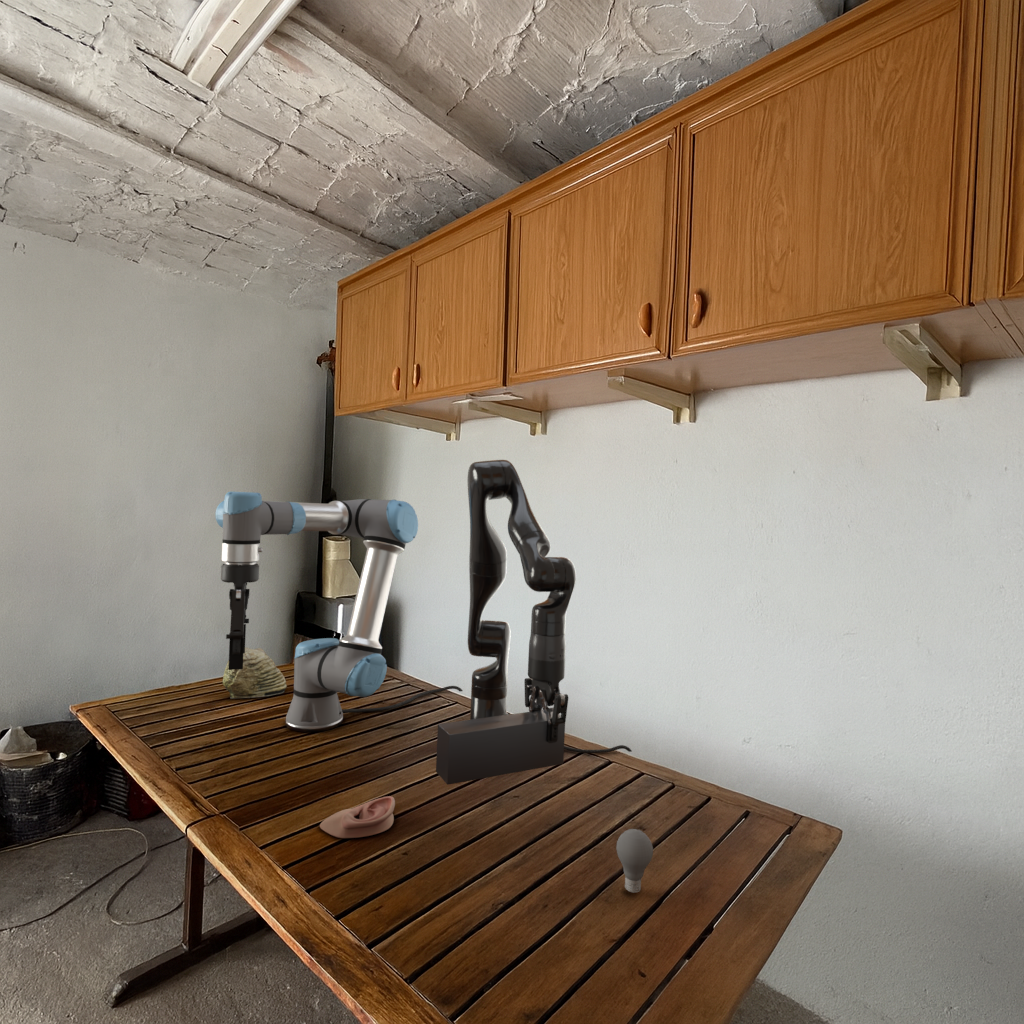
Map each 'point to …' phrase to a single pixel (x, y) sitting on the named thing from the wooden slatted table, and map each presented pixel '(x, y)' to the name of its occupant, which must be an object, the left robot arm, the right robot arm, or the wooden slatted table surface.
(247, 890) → the wooden slatted table surface
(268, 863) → the wooden slatted table surface
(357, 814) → the anatomical model
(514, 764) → the box
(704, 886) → the wooden slatted table surface
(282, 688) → the fossil
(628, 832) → the light bulb
